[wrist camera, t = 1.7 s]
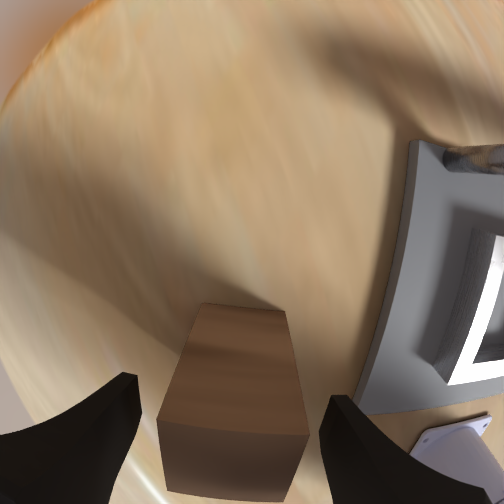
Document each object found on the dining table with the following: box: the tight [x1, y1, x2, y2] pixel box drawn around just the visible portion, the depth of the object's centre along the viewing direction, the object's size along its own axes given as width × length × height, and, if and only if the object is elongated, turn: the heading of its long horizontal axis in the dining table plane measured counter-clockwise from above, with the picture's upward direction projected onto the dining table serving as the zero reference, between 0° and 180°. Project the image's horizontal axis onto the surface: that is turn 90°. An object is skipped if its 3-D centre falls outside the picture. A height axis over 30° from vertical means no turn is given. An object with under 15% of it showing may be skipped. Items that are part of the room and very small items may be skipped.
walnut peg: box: [156, 303, 310, 502], centre depth 11 cm, size 4×4×8 cm
